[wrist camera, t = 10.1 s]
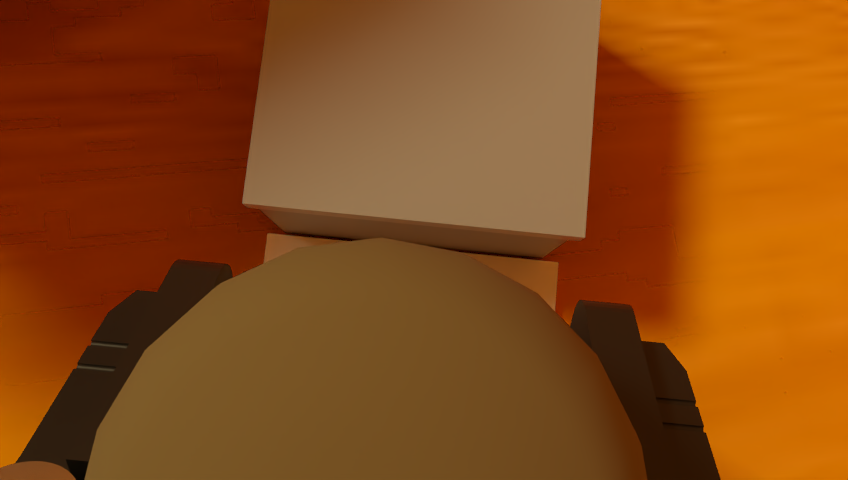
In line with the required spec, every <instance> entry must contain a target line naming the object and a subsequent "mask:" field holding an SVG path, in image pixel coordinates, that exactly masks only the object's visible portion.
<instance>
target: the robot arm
mask: <svg viewBox="0 0 848 480" xmlns="http://www.w3.org/2000/svg"><path fill="white" fill-rule="evenodd" d="M231 278H233V276H232V271H231V268H230V266H229V265H228V264H220V263H210V262H199V261H189V260H177V261H175V262H174V263H173V265H172V266H171V268H170V270H169V272H168V274H167V275H166V277H165V279H164V281H163V283H162V285H161V286H160V288H159V290H158V292H150V291H140V290H137V291H135V292H134V293H133V294H131V295H130V296H129V297H128V298H126V299H125V300H124V301H123V302H121V303H120V304H119V305H117V306H116V307H115V308H114V309H112V310H111V311H110V312H108V314H107V316H106V317H105V319H104V320H103V322H102V324H101V325H100V327H99V329H98V330H97V332H96V333H95V335H94V337H93V338H92V340H91V341H92V343H91V346H88V347H87V348H86V350H85V351H84V353H83V355H82V356H81V358H80V360H79V361H78V366H77V369H73V371H72V373H71V374H70V376H69V378H68V379H67V381H66V382H65V384H64V386H63V387H62V389H61V391H60V392H59V394H58V395H57V397H56V399H55V400H54V402H53V404H52V405H51V407H50V409H49V410H48V412H47V413H46V415H45V417H44V418H43V420H42V422H41V423H40V425H39V426H38V428H37V430H36V431H35V433H34V435H33V436H32V438H31V440H30V441H29V443H28V444H27V446H26V448H25V449H24V451H23V453H22V454H21V456H20V457H19V458H18V460H17V461H16V463H15V464H11V465H7V466H5V467H2V468H0V480H84V479H85V475H86V471H87V467H88V463H89V459H90V456H91V452H92V448H93V444H94V440H95V436H96V432H97V429H98V427H99V426H100V424H101V422H102V421H103V419H104V417H105V416H106V414H107V412H108V411H109V409H110V407H111V406H112V404H113V402H114V401H115V399H116V397H117V396H118V394H119V392H120V391H121V389H122V387H123V386H124V384H125V382H126V381H127V379H128V378H129V376H130V374H131V373H132V371H133V369H134V368H135V366H136V364H137V363H138V361H139V359H140V358H141V356H142V354H143V353H144V351H145V350H146V349H147V348H148V347H149V346H150V345H151V344H152V343H153V342H155V341H156V340H157V339H158V338H159V337H160V336H161V335H162V334H163V333H165V332H166V331H167V330H168V329H169V328H170V327H171V326H172V325H174V324H175V323H176V322H177V321H178V320H179V319H180V318H181V317H182V316H184V315H185V314H186V313H187V312H188V311H189V310H190V309H191V308H192V307H194V306H195V305H196V304H197V303H198V302H199V301H200V300H201V299H203V298H204V297H205V296H206V295H207V294H208V293H209V292H210V291H211V290H213V289H214V288H215V287H216V286H218V285H219V284H220V283H222V282H224V281H226V280H229V279H231ZM570 327H571V328H572V330H573V331H574V332H575V333H576V334H577V335H578V336H579V337H580V338H581V339H582V340H583V341H584V342H585V343H586V344H587V345H588V346H589V347H590V348H591V349H592V350H593V351H594V352H595V353H596V354H597V356H598V358H599V360H600V362H601V364H602V366H603V368H604V370H605V372H606V374H607V376H608V378H609V380H610V382H611V384H612V386H613V388H614V390H615V392H616V394H617V396H618V398H619V400H620V402H621V404H622V406H623V408H624V410H625V412H626V414H627V416H628V418H629V420H630V422H631V424H632V426H633V428H634V430H635V432H636V434H637V436H638V438H639V441H640V443H641V446H642V451H643V457H644V463H645V469H646V475H647V480H720V476H719V473H718V470H717V467H716V464H715V460H714V457H713V454H712V451H711V448H710V444H709V441H708V438H707V435H706V433H704V432H703V427H704V425H703V422H702V419H701V416H700V413H699V409H698V407H696V406H695V403H696V400H695V397H694V393H693V390H692V387H691V384H690V381H689V378H688V374H687V371H686V370H685V369H684V367H683V366H682V365H681V364H680V362H679V361H678V360H677V359H676V357H675V356H674V355H673V354H672V353H671V351H670V350H669V349H668V348H667V346H666V345H665V344H664V343H656V342H646V341H641V338H640V334H639V330H638V326H637V322H636V319H635V315H634V311H633V309H632V307H631V306H630V305H626V304H616V303H605V302H595V301H585V300H579V302H578V303H577V305H576V307H575V311H574V314H573V318H572V322H571V325H570Z"/></svg>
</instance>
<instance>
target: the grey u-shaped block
mask: <svg viewBox="0 0 848 480" xmlns="http://www.w3.org/2000/svg"><path fill="white" fill-rule="evenodd" d="M600 11H601V0H270V4H269V11H268V18H267V26H266V33H265V40H264V47H263V55H262V62H261V69H260V76H259V84H258V91H257V98H256V105H255V113H254V120H253V127H252V134H251V142H250V149H249V156H248V163H247V171H246V178H245V185H244V192H243V200H242V204H243V205H245V206H246V207H247V208H254V209H259V210H261V211H262V212H263V213H264V214H265V215H266V216H267V217H268V218H270V219H271V220H272V221H273V222H274V223H275V224H276V225H277V226H278V227H280V228H281V229H282V230H283V231H284V232H285V233H291V234H301V235H311V236H321V237H331V238H341V239H351V240H364V239H372V238H380V237H382V238H387V239H393V240H398V241H403V242H409V243H414V244H419V245H424V246H430V247H435V248H441V249H451V250H461V251H471V252H481V253H491V254H501V255H511V256H521V257H531V258H540V259H541V258H543V257H544V256H545V255H547V254H548V253H550V252H551V251H553V250H554V249H556V248H557V247H559V246H560V245H562V244H563V243H565V242H566V241H567V240H573V241H581V240H582V239H584V238H585V234H586V219H587V204H588V189H589V174H590V159H591V145H592V130H593V115H594V100H595V85H596V70H597V55H598V41H599V26H600ZM340 242H348V241H342V240H332V239H322V238H312V237H302V236H292V235H282V234H272V233H267V240H266V248H265V255H264V263H266V262H268V261H270V260H272V259H274V258H277V257H279V256H281V255H283V254H285V253H288V252H290V251H292V250H294V249H296V248H299V247H307V246H315V245H324V244H332V243H340ZM461 253H462V252H461ZM465 254H466V255H468V256H470V257H472V258H474V259H476V260H477V261H479V262H481V263H483V264H485V265H487V266H488V267H490V268H492V269H494V270H496V271H498V272H499V273H501V274H503V275H505V276H507V277H509V278H511V279H512V280H514V281H516V282H518V283H520V284H522V285H523V286H525V287H527V288H529V289H531V290H533V291H534V292H536V293H538V294H539V295H540V296H541V297H542V298H543V299H544V300H545V301H546V302H547V304H548V305H549V306H550V307H551V308H552V309H553V310H554V311H555V305H556V292H557V278H558V264H559V262H551V261H541V260H531V259H522V258H512V257H502V256H492V255H482V254H472V253H465ZM264 263H263V264H264Z"/></svg>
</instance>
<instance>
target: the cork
mask: <svg viewBox="0 0 848 480" xmlns="http://www.w3.org/2000/svg"><path fill="white" fill-rule="evenodd" d="M84 480H647V475H646V469H645V463H644V457H643V451H642V446H641V443H640V441H639V438H638V436H637V434H636V432H635V430H634V428H633V426H632V424H631V422H630V420H629V418H628V416H627V414H626V412H625V410H624V408H623V406H622V404H621V402H620V400H619V398H618V396H617V394H616V392H615V390H614V388H613V386H612V384H611V382H610V380H609V378H608V376H607V374H606V372H605V370H604V368H603V366H602V364H601V362H600V360H599V358H598V356H597V354H596V353H595V352H594V351H593V350H592V349H591V348H590V347H589V346H588V345H587V344H586V343H585V342H584V341H583V340H582V339H581V338H580V337H579V336H578V335H577V334H576V333H575V332H574V331H573V330H572V328H571V327H570V326H569V325H568V324H567V323H566V322H565V321H564V320H563V319H562V318H561V317H560V316H559V315H558V314H557V313H556V312H555V311H554V310H553V309H552V308H551V307H550V306H549V305H548V304H547V302H546V301H545V300H544V299H543V298H542V297H541V296H540V295H539V294H538V293H536V292H534V291H533V290H531V289H529V288H527V287H525V286H523V285H522V284H520V283H518V282H516V281H514V280H512V279H511V278H509V277H507V276H505V275H503V274H501V273H499V272H498V271H496V270H494V269H492V268H490V267H488V266H487V265H485V264H483V263H481V262H479V261H477V260H476V259H474V258H472V257H470V256H468V255H466V254H465V253H461V252H456V251H451V250H445V249H440V248H435V247H430V246H424V245H419V244H414V243H409V242H403V241H398V240H393V239H387V238H382V237H380V238H372V239H364V240H356V241H348V242H340V243H332V244H324V245H315V246H307V247H299V248H296V249H294V250H292V251H290V252H288V253H285V254H283V255H281V256H279V257H277V258H274V259H272V260H270V261H268V262H266V263H264V264H261V265H259V266H257V267H255V268H253V269H250V270H248V271H246V272H244V273H242V274H240V275H237V276H235V277H233V278H231V279H229V280H226V281H224V282H222V283H220V284H219V285H218V286H216V287H215V288H214V289H213V290H211V291H210V292H209V293H208V294H207V295H206V296H205V297H204V298H203V299H201V300H200V301H199V302H198V303H197V304H196V305H195V306H194V307H192V308H191V309H190V310H189V311H188V312H187V313H186V314H185V315H184V316H182V317H181V318H180V319H179V320H178V321H177V322H176V323H175V324H174V325H172V326H171V327H170V328H169V329H168V330H167V331H166V332H165V333H163V334H162V335H161V336H160V337H159V338H158V339H157V340H156V341H155V342H153V343H152V344H151V345H150V346H149V347H148V348H147V349H146V350H145V351H144V353H143V354H142V356H141V358H140V359H139V361H138V363H137V364H136V366H135V368H134V369H133V371H132V373H131V374H130V376H129V378H128V379H127V381H126V382H125V384H124V386H123V387H122V389H121V391H120V392H119V394H118V396H117V397H116V399H115V401H114V402H113V404H112V406H111V407H110V409H109V411H108V412H107V414H106V416H105V417H104V419H103V421H102V422H101V424H100V426H99V427H98V429H97V432H96V436H95V440H94V444H93V448H92V452H91V456H90V459H89V463H88V467H87V471H86V475H85V479H84Z"/></svg>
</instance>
